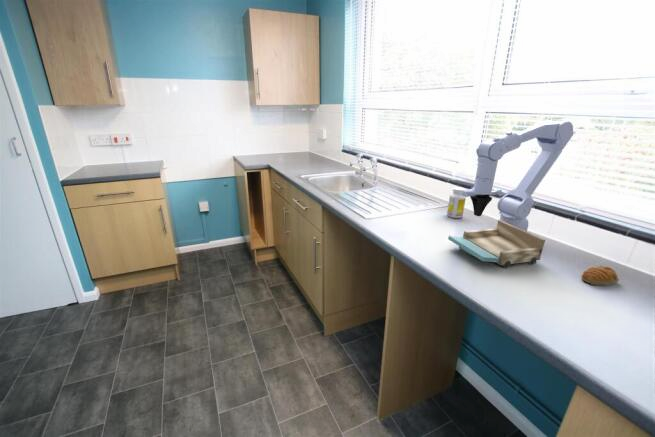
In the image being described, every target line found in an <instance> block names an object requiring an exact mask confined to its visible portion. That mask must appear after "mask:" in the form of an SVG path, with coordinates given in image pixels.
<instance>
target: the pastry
mask: <svg viewBox="0 0 655 437" xmlns="http://www.w3.org/2000/svg"><path fill="white" fill-rule="evenodd" d="M581 281H585V282H587V283H589V284H591V285H593V286H605V287H607V286H610V285H614V284H617V283H618V282H619V281H620V279H619V277H618V274H617V272H616V270H614V269H613V268H611V267H610V266H602V265H599V266H595V267H593V266H592V267H588V268H587V269H586V270H584V272H583V274H582V275H581Z"/></svg>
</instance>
